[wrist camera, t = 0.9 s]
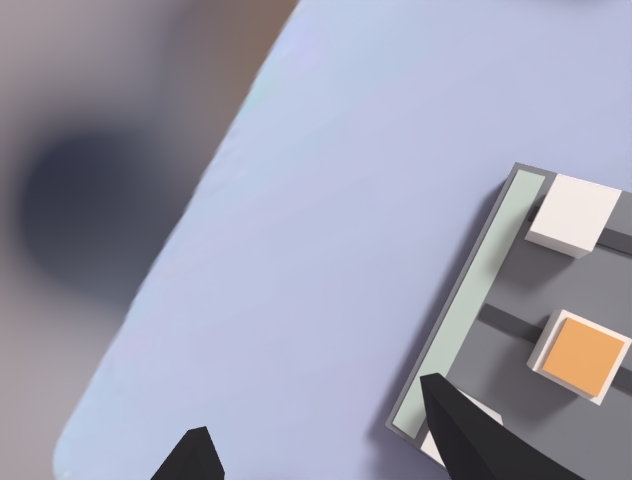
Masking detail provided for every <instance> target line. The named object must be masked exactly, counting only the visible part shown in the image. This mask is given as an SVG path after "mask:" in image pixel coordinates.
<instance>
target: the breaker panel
mask: <svg viewBox="0 0 632 480" xmlns="http://www.w3.org/2000/svg"><path fill="white" fill-rule="evenodd" d="M557 174H558V173H554V172H550V171H547V170H543V169H539V168H535V167H532V166H528V165H524V164H520V163H517V162H515V164H514V166H513V168H512V170H511V172H510V174H509V176H508V178H507V180H506V182H505V184H504V186H503V188H502V190H501V192H500V194H499V196H498V198H497V200H496V202H495V204H494V206H493V208H492V210H491V212H490V214H489V216H488V218H487V220H486V222H485V224H484V226H483V228H482V230H481V232H480V234H479V236H478V238H477V240H476V242H475V244H474V246H473V248H472V250H471V252H470V254H469V256H468V258H467V260H466V262H465V264H464V266H463V268H462V270H461V272H460V274H459V276H458V278H457V280H456V282H455V285H454V287H453V289H452V291H451V293H450V295H449V297H448V299H447V301H446V303H445V305H444V307H443V309H442V311H441V313H440V315H439V317H438V319H437V321H436V323H435V325H434V327H433V329H432V331H431V333H430V335H429V337H428V339H427V341H426V343H425V345H424V347H423V349H422V351H421V353H420V355H419V357H418V359H417V361H416V363H415V365H414V367H413V369H412V371H411V373H410V375H409V377H408V379H407V381H406V383H405V385H404V387H403V389H402V391H401V393H400V395H399V397H398V399H397V401H396V403H395V405H394V407H393V409H392V411H391V413H390V415H389V417H388V419H387V421H386V423H385V426H386V427H388V428H389V429H390V430H392V431H393V432H394V433H396V434H397V435H398V436H400V437H401V438H403V439H404V440H405V441H407V442H408V443H409V444H411V445H412V446H413V447H415V448H416V449H417V450H419V451H420V452H421V453H423V454H424V455H426V456H427V457H428V458H430V459H431V460H432V461H434V462H435V463H436V464H438V465H439V466H440V467H442V468H443V469H444V470H446V471H447V469H446V467H444V466H443V465H442V464H440V463H439V462H438V461H436V460H435V459H433V458H432V457H431V456H429V455H428V454H427V453H425V452H424V451H423V450H421V447H422V444H423V442H424V439H425V437H426V435H427V433H428V431H429V427H428V423H427V417H426V412H425V406H424V400H423V394H422V389H421V383H420V376H424V375H428V374H433V373H437V372H438V373H440V374H441V375H442V376H443V377H444V378H446V379H447V380H448V381H449V382H450V383H451V384H452V385H453V386H454V387H456V388H457V389H459V390H460V391H462V392H464V393H465V394H467V395H469V396H470V397H472V398H473V399H475V400H477V401H478V402H480V403H482V404H483V405H485V406H487V407H488V408H490V409H491V410H493V411H495V412H496V413H498V414H500V415H501V419H502V423H503V426H504V427H505V428H506V429H508V430H509V431H511V432H512V433H513V434H515V435H516V436H518V437H519V438H520V439H522V440H523V441H525V442H526V443H528V444H529V445H531V446H532V447H534V448H535V449H537V450H538V451H540V452H541V453H543V454H544V455H546V456H547V457H549V458H551V459H552V460H554V461H555V462H557V463H559V464H560V465H562V466H563V467H565V468H567V469H568V470H570V471H572V472H574V473H575V474H577V475H579V476H580V477H582V478H584V479H586V480H632V342H631V344H630V346H629V348H628V350H627V352H626V354H625V356H624V358H623V360H622V362H621V364H620V366H619V368H618V370H617V372H616V374H615V376H614V378H613V380H612V382H611V384H610V386H609V388H608V390H607V392H606V394H605V396H604V398H603V400H602V402H601V404H600V406H599V405H598V404H596V403H594V402H592V401H590V400H588V399H586V398H584V397H582V396H581V395H579V394H577V393H575V392H573V391H571V390H569V389H567V388H565V387H563V386H562V385H560V384H558V383H556V382H554V381H552V380H550V379H548V378H546V377H545V376H543V375H541V374H539V373H537V372H535V371H533V370H532V369H531V368H530V367H529V366H528V365H526V364H527V362H528V360H529V358H530V356H531V354H532V352H533V350H534V348H535V346H536V344H537V342H538V340H539V338H540V336H541V334H542V332H543V330H544V328H545V326H546V324H547V322H548V320H549V318H550V316H551V314H552V312H553V310H561V309H563V310H566V311H568V312H570V313H573V314H575V315H577V316H580V317H582V318H584V319H586V320H589V321H591V322H593V323H596V324H598V325H600V326H603V327H605V328H607V329H610V330H612V331H614V332H617V333H619V334H621V335H623V336H626V337H628V338H630V339H632V193H629V192H626V191H622V192H621V194H620V196H619V198H618V200H617V202H616V204H615V206H614V208H613V210H612V212H611V214H610V216H609V218H608V220H607V222H606V224H605V226H604V228H603V230H602V232H601V234H600V236H599V238H598V240H597V242H596V244H595V246H594V248H593V250H592V252H590V253H589V254H587V255H585V256H583V257H581V258H580V259H578V258H575V257H572V256H569V255H567V254H564V253H561V252H558V251H556V250H553V249H550V248H547V247H545V246H542V245H539V244H536V243H533V242H531V241H528V240H525V237H526V235H527V233H528V231H529V229H530V227H531V225H532V223H533V221H534V219H535V217H536V215H537V213H538V211H539V209H540V207H541V205H542V203H543V201H544V199H545V197H546V195H547V193H548V191H549V189H550V187H551V185H552V183H553V181H554V180H555V178H556V176H557ZM447 472H448V471H447Z"/></svg>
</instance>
